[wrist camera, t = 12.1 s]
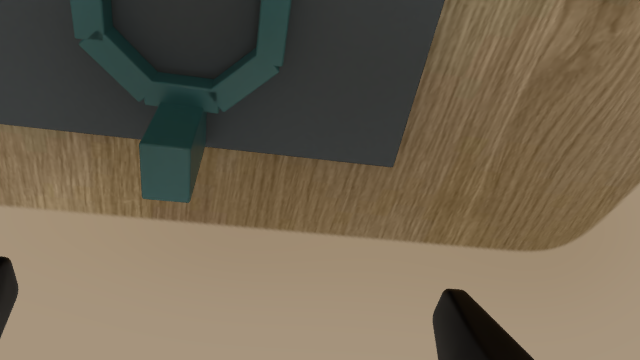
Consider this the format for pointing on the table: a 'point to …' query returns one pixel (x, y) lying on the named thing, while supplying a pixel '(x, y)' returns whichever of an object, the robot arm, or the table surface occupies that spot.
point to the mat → (216, 57)
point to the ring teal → (178, 92)
